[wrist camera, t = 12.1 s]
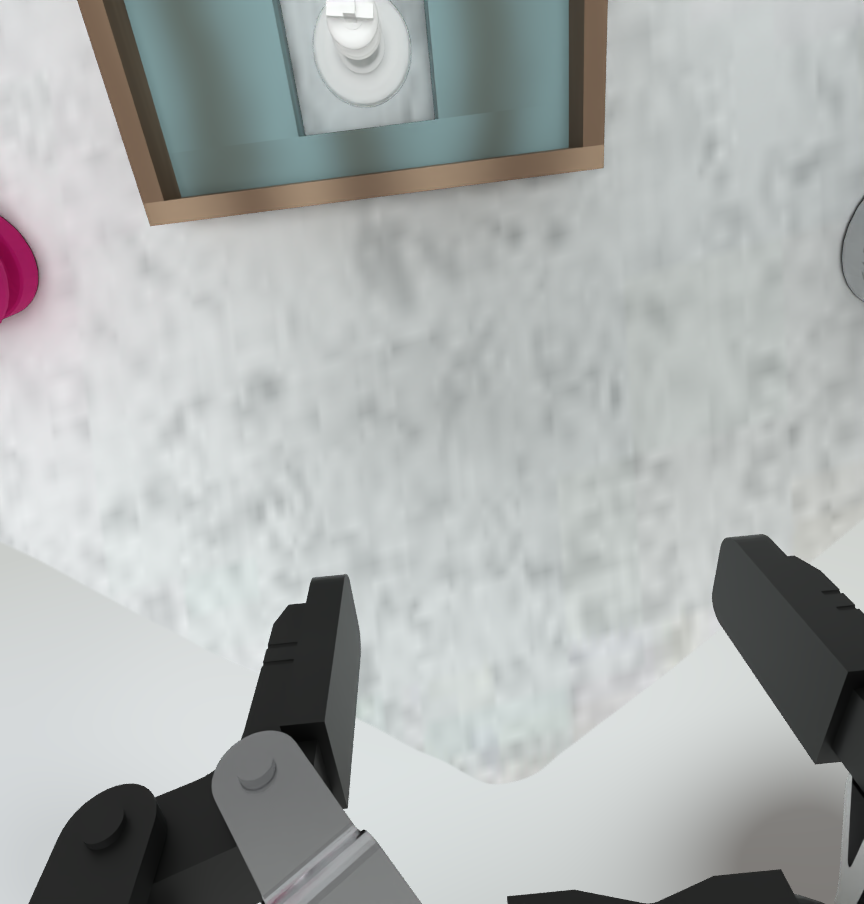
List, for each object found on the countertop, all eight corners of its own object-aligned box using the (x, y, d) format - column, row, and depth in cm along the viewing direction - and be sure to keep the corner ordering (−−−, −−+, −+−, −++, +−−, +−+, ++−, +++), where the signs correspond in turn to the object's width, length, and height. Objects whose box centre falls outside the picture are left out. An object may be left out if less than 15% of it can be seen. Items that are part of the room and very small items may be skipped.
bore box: (576, -251, 24) (616, -340, 20) (574, 165, 32) (603, 168, 27) (66, -185, 24) (-7, -259, 20) (184, 216, 32) (150, 226, 27)
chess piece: (310, -15, 28) (270, -94, 19) (412, -8, 28) (420, -83, 19) (315, 104, 30) (282, 84, 21) (410, 109, 30) (416, 91, 21)
